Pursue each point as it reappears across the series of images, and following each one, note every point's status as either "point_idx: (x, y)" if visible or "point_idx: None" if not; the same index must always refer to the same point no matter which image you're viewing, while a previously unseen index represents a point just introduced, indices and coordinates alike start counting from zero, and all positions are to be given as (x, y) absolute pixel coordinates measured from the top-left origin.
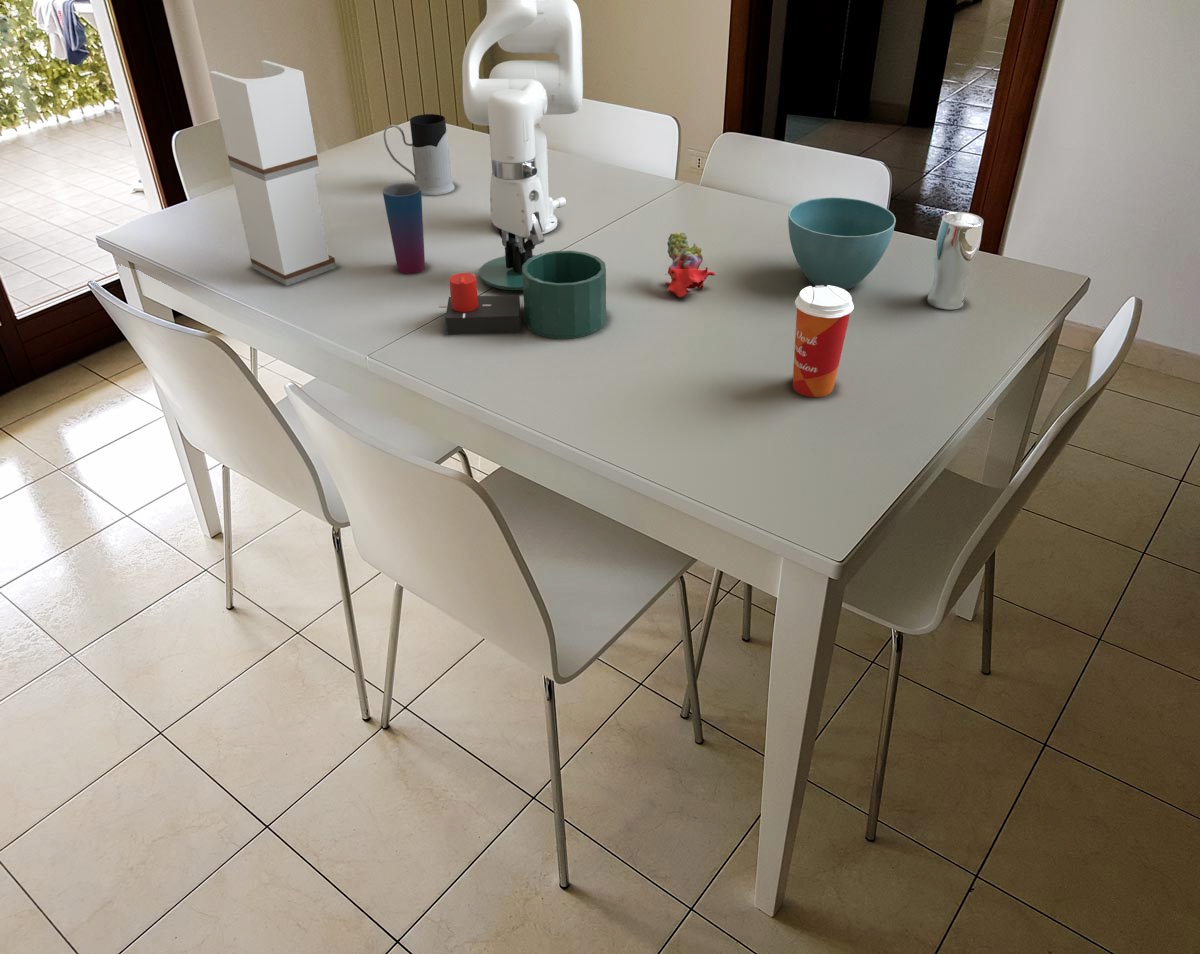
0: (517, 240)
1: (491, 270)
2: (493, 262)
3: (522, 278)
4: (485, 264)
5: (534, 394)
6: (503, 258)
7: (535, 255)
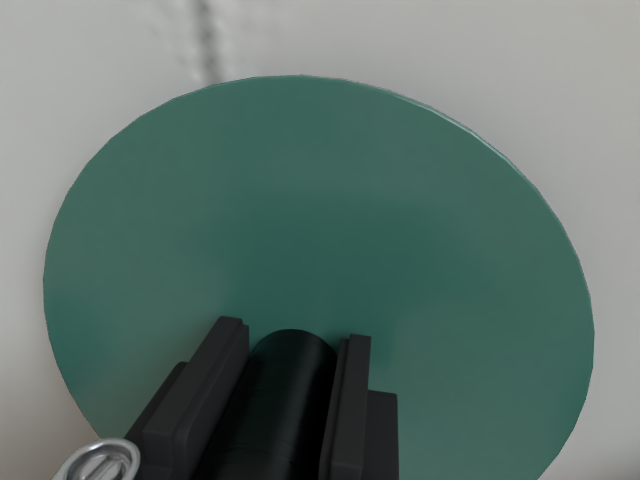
0: (137, 470)
1: None
2: (89, 364)
3: (402, 444)
4: (84, 404)
5: None
6: (75, 287)
7: (180, 100)
